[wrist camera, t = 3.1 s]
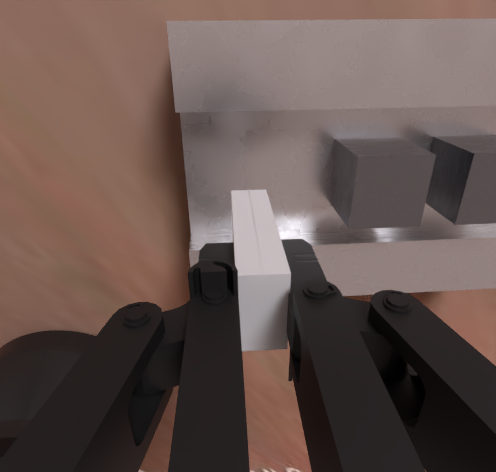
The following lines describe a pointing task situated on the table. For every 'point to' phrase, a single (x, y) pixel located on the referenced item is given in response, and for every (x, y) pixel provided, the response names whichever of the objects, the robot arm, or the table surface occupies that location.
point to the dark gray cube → (380, 182)
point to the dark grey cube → (464, 179)
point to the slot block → (333, 134)
